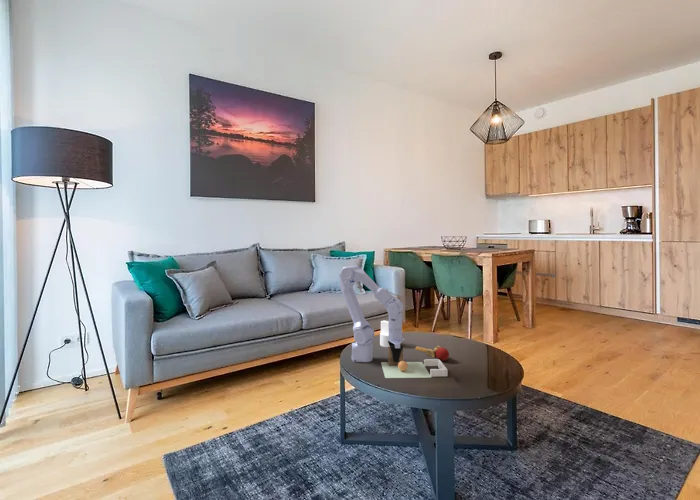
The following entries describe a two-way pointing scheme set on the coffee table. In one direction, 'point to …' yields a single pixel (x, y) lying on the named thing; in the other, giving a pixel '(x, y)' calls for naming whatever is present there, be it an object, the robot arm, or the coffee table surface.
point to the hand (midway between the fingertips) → (395, 359)
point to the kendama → (435, 352)
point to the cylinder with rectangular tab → (384, 333)
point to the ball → (402, 365)
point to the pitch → (415, 370)
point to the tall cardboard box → (390, 358)
